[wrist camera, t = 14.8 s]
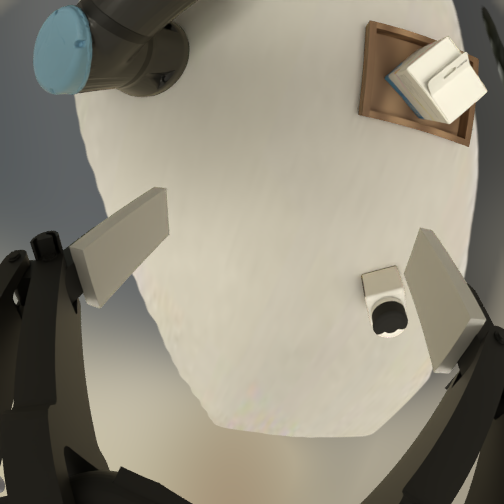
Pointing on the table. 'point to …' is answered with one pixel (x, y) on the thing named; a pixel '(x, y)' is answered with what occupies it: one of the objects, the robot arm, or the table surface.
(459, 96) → the ink box
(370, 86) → the walnut tray
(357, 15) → the table surface
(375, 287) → the medicine bottle
